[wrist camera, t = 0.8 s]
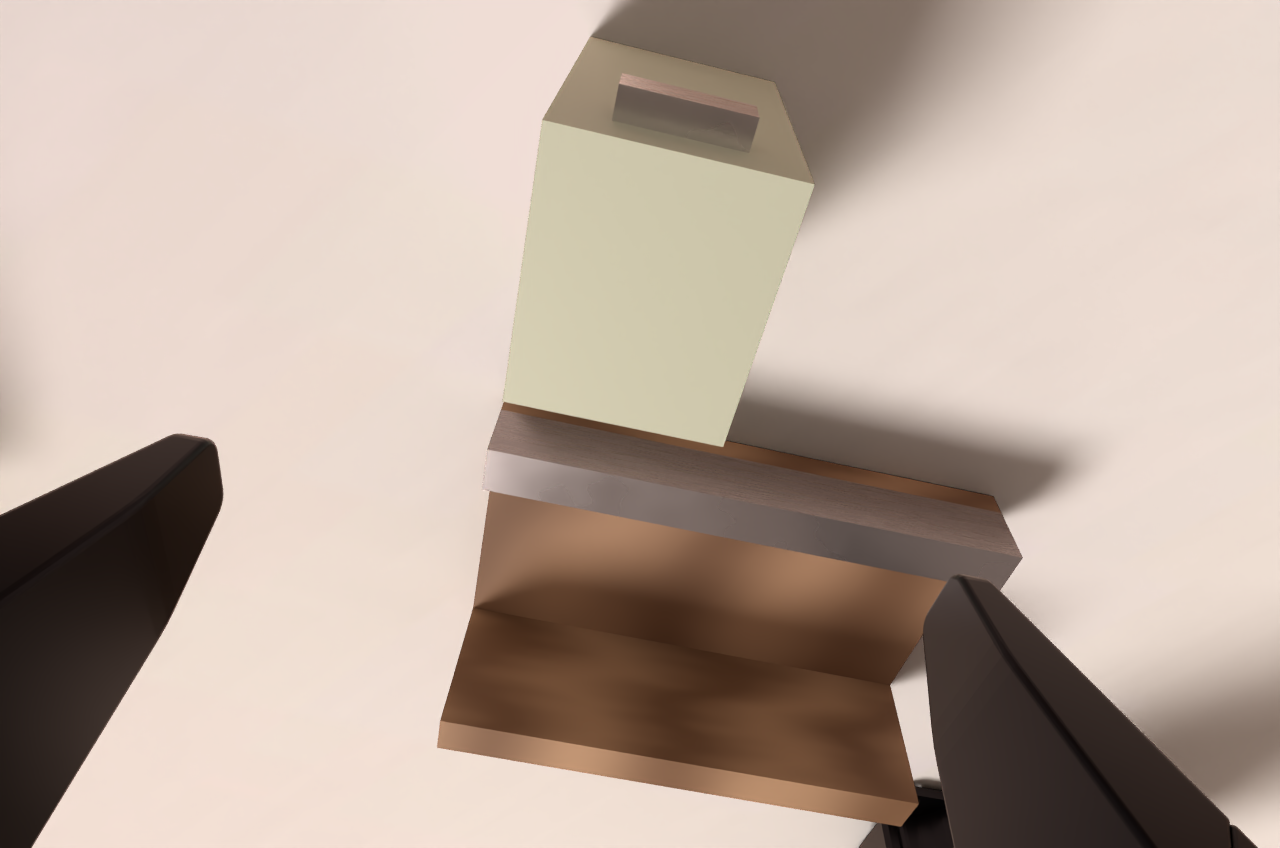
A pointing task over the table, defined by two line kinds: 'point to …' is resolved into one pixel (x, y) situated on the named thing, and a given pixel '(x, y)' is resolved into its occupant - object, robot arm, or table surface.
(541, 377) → the cabinet block
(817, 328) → the table surface
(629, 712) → the cleat rack
